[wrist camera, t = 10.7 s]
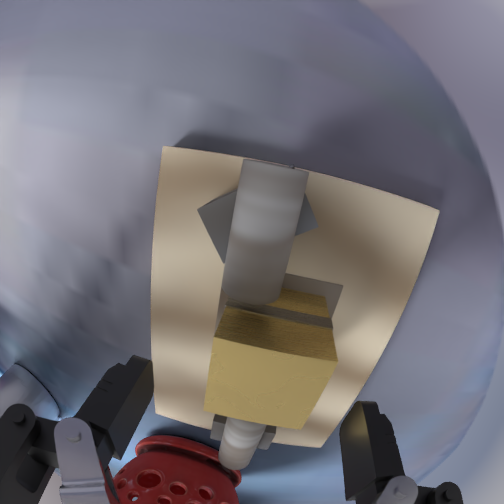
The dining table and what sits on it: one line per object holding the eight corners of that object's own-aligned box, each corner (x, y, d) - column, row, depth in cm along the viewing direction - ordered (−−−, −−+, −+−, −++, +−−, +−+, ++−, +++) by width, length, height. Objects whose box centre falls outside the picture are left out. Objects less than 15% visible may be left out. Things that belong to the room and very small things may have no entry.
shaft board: (320, 437, 20) (321, 483, 15) (160, 403, 21) (139, 446, 16) (430, 203, 13) (481, 227, 8) (173, 144, 13) (122, 142, 9)
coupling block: (326, 295, 14) (339, 361, 9) (301, 362, 15) (301, 430, 11) (237, 276, 14) (212, 335, 9) (224, 345, 16) (201, 410, 11)
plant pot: (262, 482, 24) (248, 565, 13) (163, 471, 27) (137, 540, 16) (235, 426, 20) (205, 550, 9) (114, 413, 23) (65, 498, 12)
